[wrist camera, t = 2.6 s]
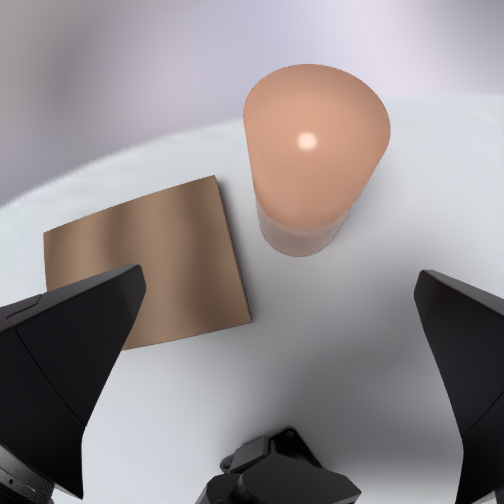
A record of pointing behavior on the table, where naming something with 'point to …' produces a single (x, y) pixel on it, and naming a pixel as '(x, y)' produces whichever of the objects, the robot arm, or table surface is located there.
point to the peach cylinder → (311, 152)
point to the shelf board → (160, 260)
